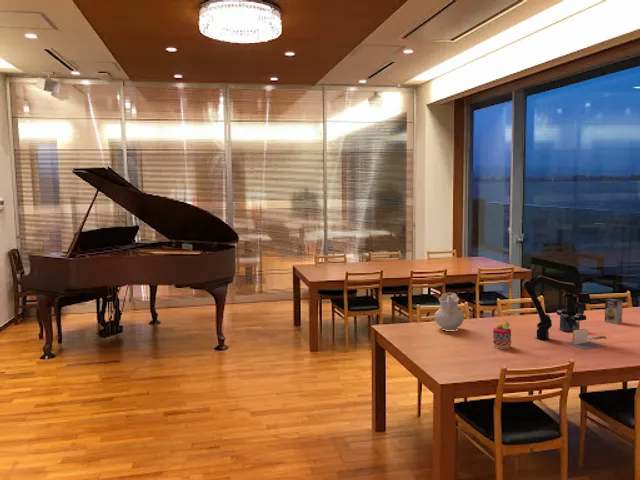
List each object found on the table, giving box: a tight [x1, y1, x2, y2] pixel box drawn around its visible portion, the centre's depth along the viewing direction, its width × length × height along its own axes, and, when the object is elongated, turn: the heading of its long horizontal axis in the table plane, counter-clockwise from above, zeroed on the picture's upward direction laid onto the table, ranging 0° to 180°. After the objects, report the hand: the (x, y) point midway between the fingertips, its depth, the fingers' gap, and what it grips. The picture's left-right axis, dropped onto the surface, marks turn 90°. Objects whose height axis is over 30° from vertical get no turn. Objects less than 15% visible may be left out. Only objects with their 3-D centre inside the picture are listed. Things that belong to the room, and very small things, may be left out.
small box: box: [559, 314, 581, 333], centre depth 351 cm, size 11×6×10 cm, turn 92°
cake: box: [492, 321, 512, 350], centre depth 320 cm, size 10×10×15 cm
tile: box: [572, 328, 589, 344], centre depth 321 cm, size 9×2×8 cm, turn 107°
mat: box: [565, 340, 607, 351], centre depth 318 cm, size 16×16×1 cm
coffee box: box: [604, 298, 624, 325], centre depth 368 cm, size 9×6×16 cm
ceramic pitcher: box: [434, 292, 465, 330], centre depth 360 cm, size 22×20×25 cm
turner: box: [587, 335, 607, 342], centre depth 330 cm, size 15×5×1 cm, turn 108°
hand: (571, 328), depth 328 cm, fingers closed
